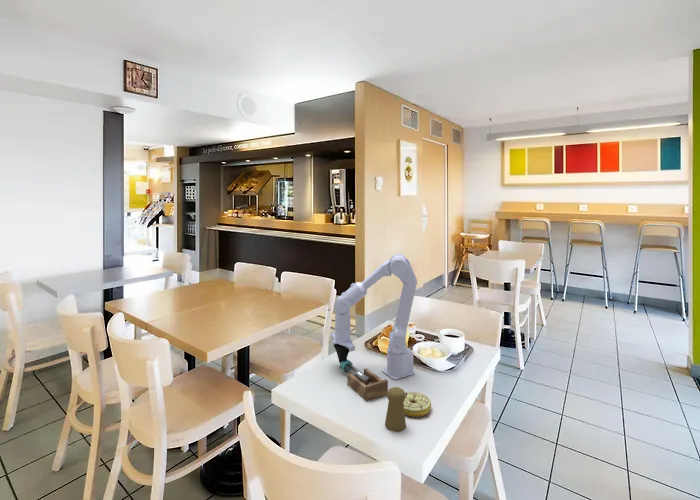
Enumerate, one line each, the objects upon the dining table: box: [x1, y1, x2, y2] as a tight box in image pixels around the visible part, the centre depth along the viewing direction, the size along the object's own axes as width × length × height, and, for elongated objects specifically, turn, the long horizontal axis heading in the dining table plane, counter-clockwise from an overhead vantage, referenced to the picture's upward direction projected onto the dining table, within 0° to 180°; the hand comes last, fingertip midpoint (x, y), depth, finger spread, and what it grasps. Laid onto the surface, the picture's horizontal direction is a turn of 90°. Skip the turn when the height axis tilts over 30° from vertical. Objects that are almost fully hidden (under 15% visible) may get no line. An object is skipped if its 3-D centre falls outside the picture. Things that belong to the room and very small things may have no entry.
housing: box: [346, 368, 389, 403], centre depth 128 cm, size 13×8×5 cm, turn 31°
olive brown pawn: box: [384, 386, 407, 433], centre depth 108 cm, size 6×6×11 cm
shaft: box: [339, 358, 370, 385], centre depth 134 cm, size 14×4×4 cm, turn 31°
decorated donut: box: [403, 391, 432, 418], centre depth 117 cm, size 10×11×4 cm
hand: (342, 362), depth 142 cm, fingers closed
